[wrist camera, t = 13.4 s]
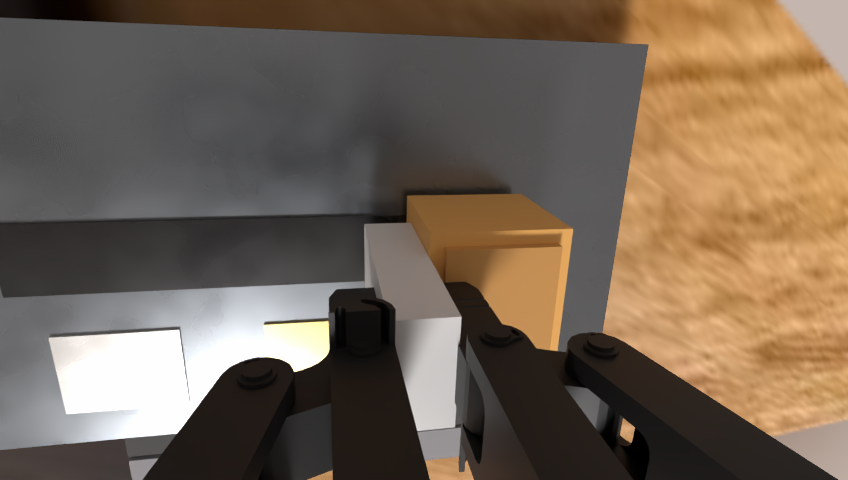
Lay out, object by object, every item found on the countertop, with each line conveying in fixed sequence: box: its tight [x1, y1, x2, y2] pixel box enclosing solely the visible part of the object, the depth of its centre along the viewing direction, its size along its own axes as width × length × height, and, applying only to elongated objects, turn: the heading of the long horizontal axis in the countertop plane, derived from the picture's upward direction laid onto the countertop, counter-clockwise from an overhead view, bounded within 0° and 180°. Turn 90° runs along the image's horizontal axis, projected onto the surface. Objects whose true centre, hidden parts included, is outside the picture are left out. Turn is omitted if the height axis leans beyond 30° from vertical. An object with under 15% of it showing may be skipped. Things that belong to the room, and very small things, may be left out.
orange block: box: [407, 194, 573, 351], centre depth 16 cm, size 4×4×4 cm
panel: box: [0, 18, 648, 450], centre depth 19 cm, size 24×14×3 cm, turn 88°
